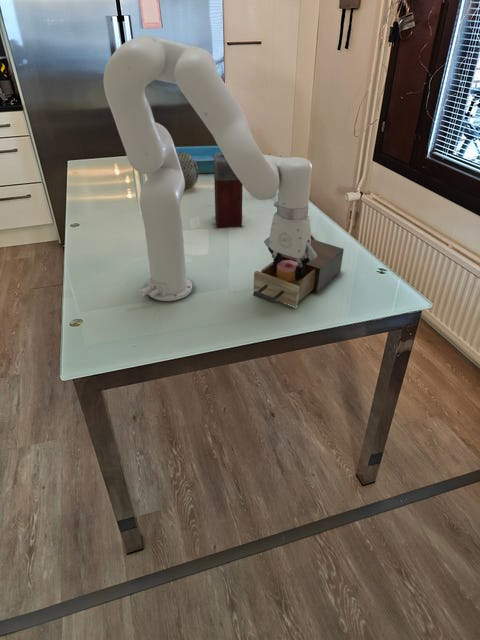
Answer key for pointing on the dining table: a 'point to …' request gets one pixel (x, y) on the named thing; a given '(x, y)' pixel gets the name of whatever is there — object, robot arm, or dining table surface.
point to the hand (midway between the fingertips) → (288, 273)
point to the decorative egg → (188, 169)
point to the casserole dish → (202, 156)
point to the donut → (286, 270)
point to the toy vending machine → (227, 194)
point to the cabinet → (323, 263)
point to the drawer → (283, 286)
